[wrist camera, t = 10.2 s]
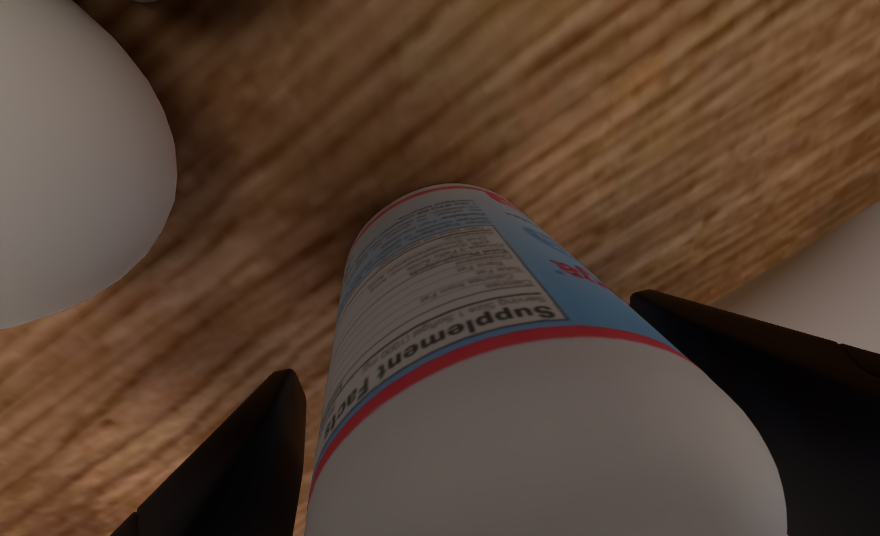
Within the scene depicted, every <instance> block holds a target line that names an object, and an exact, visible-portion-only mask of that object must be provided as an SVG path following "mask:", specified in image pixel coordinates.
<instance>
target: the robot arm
mask: <svg viewBox="0 0 880 536" xmlns="http://www.w3.org/2000/svg"><path fill="white" fill-rule="evenodd" d="M629 306H630V307H631V308H632V309H633V310H634V311H635V312H636V313H638V314H639V315H640V316H641V317H642V318H643V319H644V320H645V321H647V322H648V323H649V324H650V325H651V326H652V327H653V328H654V329H656V330H657V331H658V332H659V333H660V334H661V335H662V336H663V337H664V338H666V339H667V340H668V341H669V342H670V343H671V344H672V345H673V346H675V347H676V348H677V349H678V350H679V351H680V352H681V353H682V354H683V355H685V356H686V357H687V358H688V359H689V360H690V361H691V362H693V363H694V364H695V365H696V366H697V367H699V368H700V369H701V370H702V371H703V372H704V373H705V374H706V375H707V376H708V377H709V378H710V379H711V380H712V381H713V382H714V383H715V384H716V385H717V386H718V387H719V388H721V389H722V390H723V391H724V392H725V393H726V394H727V395H728V396H729V397H730V398H731V399H732V400H733V401H734V402H735V403H736V404H737V405H738V406H739V407H740V408H741V409H742V410H743V411H744V413H745V414H746V415H747V417H748V418H749V419H750V421H751V422H752V424H753V425H754V426H755V428H756V429H757V430H758V432H759V434H760V435H761V437H762V439H763V441H764V442H765V444H766V446H767V448H768V450H769V452H770V454H771V456H772V458H773V460H774V462H775V465H776V467H777V469H778V473H779V476H780V480H781V483H782V487H783V491H784V497H785V503H786V513H787V535H788V536H880V354H878V353H873V352H870V351H867V350H862V349H860V348H856V347H852V346H849V345H845V344H838V343H837V342H834V341H831V340H828V339H824V338H820V337H817V336H813V335H810V334H806V333H803V332H799V331H795V330H792V329H789V328H785V327H781V326H778V325H774V324H771V323H767V322H764V321H760V320H756V319H753V318H749V317H746V316H743V315H739V314H736V313H732V312H728V311H725V310H721V309H718V308H714V307H711V306H707V305H704V304H700V303H697V302H693V301H690V300H686V299H682V298H679V297H675V296H672V295H668V294H665V293H661V292H658V291H654V290H643V291H638V292H634V293H633V294H632V295H631V297H630V305H629ZM306 405H307V403H306V396H305V393H304V391H303V389H302V386H301V384H300V382H299V379H298V377H297V375H296V373H295V371H294V370H293V369H290V368H289V369H285V370H280V371H276V372H273V373H272V374H271V375H270V376H269V377H268V378H267V379H266V380H265V381H264V382H263V383H262V384H261V385H260V386H259V387H258V388H257V389H256V390H255V391H254V392H253V393H252V394H251V395H250V396H249V397H248V398H247V399H246V400H245V401H244V402H243V403H242V404H241V405H240V406H239V407H238V408H237V409H236V410H235V411H234V412H233V413H232V414H231V415H230V416H229V417H228V418H227V419H226V420H225V421H224V422H223V423H222V424H221V425H220V426H219V427H218V428H217V429H216V430H215V431H214V432H213V433H212V434H211V435H210V436H209V437H208V438H207V439H206V440H205V441H204V442H203V443H202V444H201V445H200V446H199V447H198V448H197V449H196V450H195V451H194V452H193V453H192V454H191V455H190V456H189V457H188V458H187V459H186V460H185V461H184V462H183V463H182V464H181V465H180V466H179V467H178V468H177V469H176V470H175V471H174V472H173V473H172V474H171V475H170V476H169V477H168V478H167V479H166V480H165V481H164V482H163V483H162V484H161V485H160V486H159V487H158V488H157V489H156V490H155V491H154V492H153V493H152V494H151V495H150V496H149V497H148V498H147V499H146V500H145V501H144V502H143V503H142V504H141V505H140V506H139V507H138V509H137V512H133V513H132V514H131V515H130V516H129V517H128V518H127V519H126V520H125V521H124V522H123V523H122V524H121V525H120V526H119V527H118V528H117V529H116V530H115V531H114V532H113V533H112V534H111V535H110V536H293V529H294V523H295V517H296V511H297V505H298V499H299V493H300V487H301V481H302V473H303V464H304V446H305V426H306Z"/></svg>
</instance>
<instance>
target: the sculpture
mask: <svg viewBox="0 0 880 536" xmlns="http://www.w3.org/2000/svg"><path fill="white" fill-rule="evenodd" d="M132 1H137V2H143V3H146V2H151V1H156V0H132Z"/></svg>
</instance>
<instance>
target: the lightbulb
mask: <svg viewBox="0 0 880 536" xmlns="http://www.w3.org/2000/svg"><path fill="white" fill-rule="evenodd" d="M176 183H177V165H176V152H175V144H174V139H173V136H172V133H171V130H170V127H169V124H168V121H167V119H166V116H165V113H164V110H163V108H162V106H161V104H160V102H159V100H158V98H157V97H156V95H155V93H154V91H153V89H152V87H151V85H150V83H149V81H148V80H147V79H146V77H145V76H144V75H143V73H142V72H141V71H140V70H139V68H138V67H137V66H136V64H135V63H134V62H133V61H132V59H131V58H130V57H129V55H128V54H127V53H126V52H125V50H124V49H123V48H122V47H121V46H120V45H119V43H118V42H117V41H116V40H115V39H114V38H113V37H112V36H111V35H110V34H109V33H108V32H107V31H106V30H105V29H103V28H102V27H101V26H100V25H99V24H98V23H97V22H96V21H95V20H94V19H92V18H91V17H90V16H89V15H88V14H87V13H86V12H85V11H84V10H83V9H81V8H80V7H79V6H78V5H77V4H76V3H75V2H74V1H72V0H0V330H1V329H7V328H12V327H16V326H19V325H22V324H25V323H28V322H32V321H35V320H38V319H41V318H44V317H47V316H51V315H54V314H57V313H60V312H63V311H65V310H67V309H69V308H71V307H73V306H75V305H77V304H79V303H81V302H83V301H85V300H87V299H89V298H91V297H93V296H95V295H97V294H98V293H100V292H101V291H103V290H105V289H106V288H108V287H109V286H111V285H112V284H114V283H116V282H117V281H118V280H120V279H121V278H122V277H123V276H124V275H126V274H127V273H128V272H129V271H130V270H131V269H132V268H133V267H134V266H135V265H136V264H137V263H138V262H139V261H140V260H141V259H142V258H143V257H144V256H145V255H147V253H148V252H149V250H150V249H151V247H152V246H153V244H154V243H155V241H156V239H157V238H158V236H159V235H160V233H161V232H162V230H163V228H164V226H165V224H166V221H167V219H168V216H169V214H170V211H171V209H172V206H173V204H174V201H175V192H176Z"/></svg>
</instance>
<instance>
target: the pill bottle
mask: <svg viewBox="0 0 880 536" xmlns="http://www.w3.org/2000/svg"><path fill="white" fill-rule="evenodd" d="M786 535H787V513H786V503H785V497H784V491H783V487H782V483H781V480H780V476H779V473H778V469H777V467H776V465H775V462H774V460H773V458H772V456H771V454H770V452H769V450H768V448H767V446H766V444H765V442H764V441H763V439H762V437H761V435H760V434H759V432H758V430H757V429H756V428H755V426H754V425H753V424H752V422H751V421H750V419H749V418H748V417H747V415H746V414H745V413H744V411H743V410H742V409H741V408H740V407H739V406H738V405H737V404H736V403H735V402H734V401H733V400H732V399H731V398H730V397H729V396H728V395H727V394H726V393H725V392H724V391H723V390H722V389H721V388H719V387H718V386H717V385H716V384H715V383H714V382H713V381H712V380H711V379H710V378H709V377H708V376H707V375H706V374H705V373H704V372H703V371H702V370H701V369H700V368H699V367H697V366H696V365H695V364H694V363H693V362H691V361H690V360H689V359H688V358H687V357H686V356H685V355H683V354H682V353H681V352H680V351H679V350H678V349H677V348H676V347H675V346H673V345H672V344H671V343H670V342H669V341H668V340H667V339H666V338H664V337H663V336H662V335H661V334H660V333H659V332H658V331H657V330H656V329H654V328H653V327H652V326H651V325H650V324H649V323H648V322H647V321H645V320H644V319H643V318H642V317H641V316H640V315H639V314H638V313H636V312H635V311H634V310H633V309H632V308H631V307H630V306H629V305H627V304H626V303H625V302H624V301H623V300H622V299H621V298H620V297H619V296H618V295H616V294H615V293H614V292H613V291H612V290H610V289H609V288H608V287H607V286H606V285H605V284H604V283H602V282H601V281H600V280H599V279H598V278H597V277H596V276H595V275H593V274H592V273H591V272H590V271H589V270H588V269H587V268H586V267H585V266H584V265H583V264H582V263H580V262H579V261H578V260H577V259H576V258H575V257H573V256H572V255H571V254H570V253H569V252H568V251H567V250H565V249H564V248H563V247H562V246H561V245H560V244H559V243H557V242H556V241H555V240H554V239H553V238H552V237H551V236H549V235H548V234H547V233H546V232H545V231H544V230H543V229H542V228H540V227H539V226H538V225H537V224H536V223H535V222H534V221H532V220H531V219H530V218H529V217H528V216H527V215H526V214H524V213H523V212H522V211H521V210H520V209H519V208H517V207H516V206H515V205H514V204H512V203H511V202H510V201H508V200H507V199H506V198H504V197H502V196H500V195H499V194H497V193H495V192H492V191H490V190H488V189H485V188H482V187H478V186H474V185H469V184H460V183H446V184H439V185H433V186H429V187H425V188H422V189H419V190H416V191H413V192H411V193H408V194H406V195H404V196H402V197H400V198H398V199H397V200H395V201H393V202H392V203H390V204H389V205H387V206H386V207H385V208H383V209H382V210H381V211H379V212H378V213H377V214H376V215H375V216H374V217H373V218H372V219H371V220H370V221H369V222H368V223H367V224H366V225H365V226H364V227H363V229H362V230H361V231H360V233H359V234H358V236H357V238H356V239H355V241H354V243H353V245H352V247H351V249H350V252H349V254H348V258H347V261H346V266H345V269H344V275H343V282H342V288H341V295H340V301H339V307H338V314H337V321H336V327H335V333H334V340H333V347H332V353H331V359H330V366H329V372H328V379H327V385H326V392H325V399H324V405H323V412H322V418H321V425H320V431H319V438H318V444H317V449H316V454H315V463H314V469H313V476H312V482H311V488H310V494H309V501H308V507H307V516H306V525H305V533H304V536H786Z"/></svg>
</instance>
